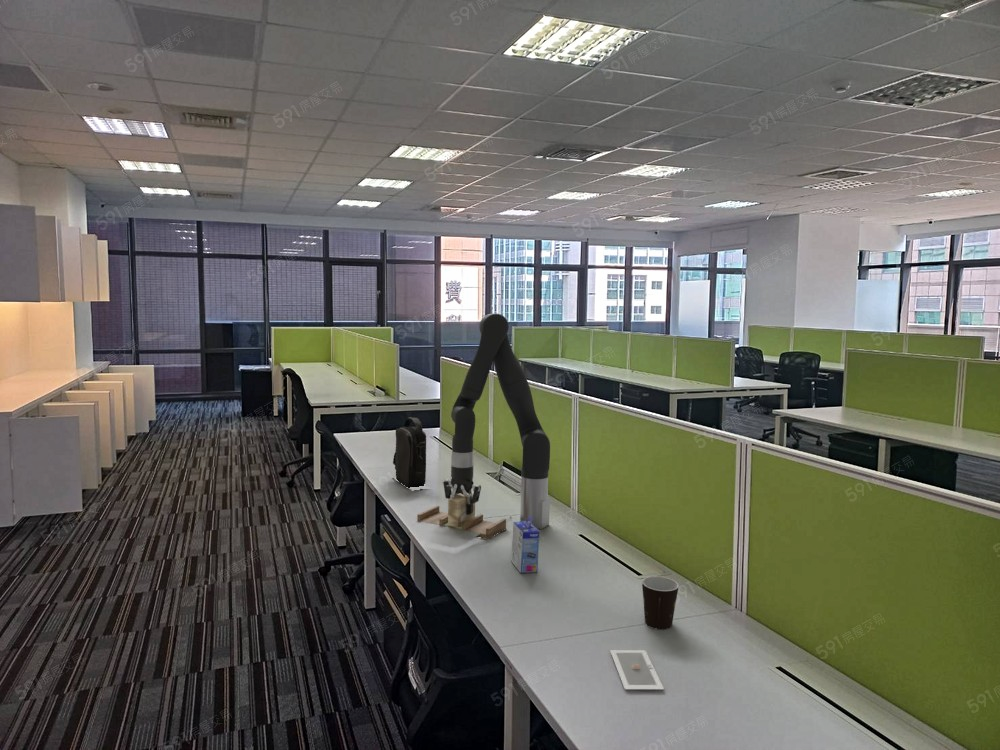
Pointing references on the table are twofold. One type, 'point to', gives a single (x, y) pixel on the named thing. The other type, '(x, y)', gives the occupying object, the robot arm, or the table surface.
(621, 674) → the touchpad
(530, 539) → the ink cartridge box
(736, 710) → the table surface
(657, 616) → the coffee mug
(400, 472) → the shoulder bag
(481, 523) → the notched rack
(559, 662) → the table surface
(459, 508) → the tall beige wooden block
